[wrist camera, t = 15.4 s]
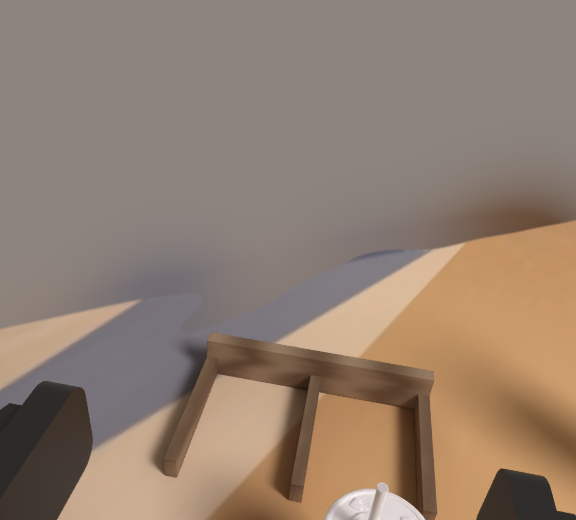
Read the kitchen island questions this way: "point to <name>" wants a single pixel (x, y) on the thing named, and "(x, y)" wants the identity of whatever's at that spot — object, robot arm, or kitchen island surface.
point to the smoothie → (372, 506)
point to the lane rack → (314, 398)
